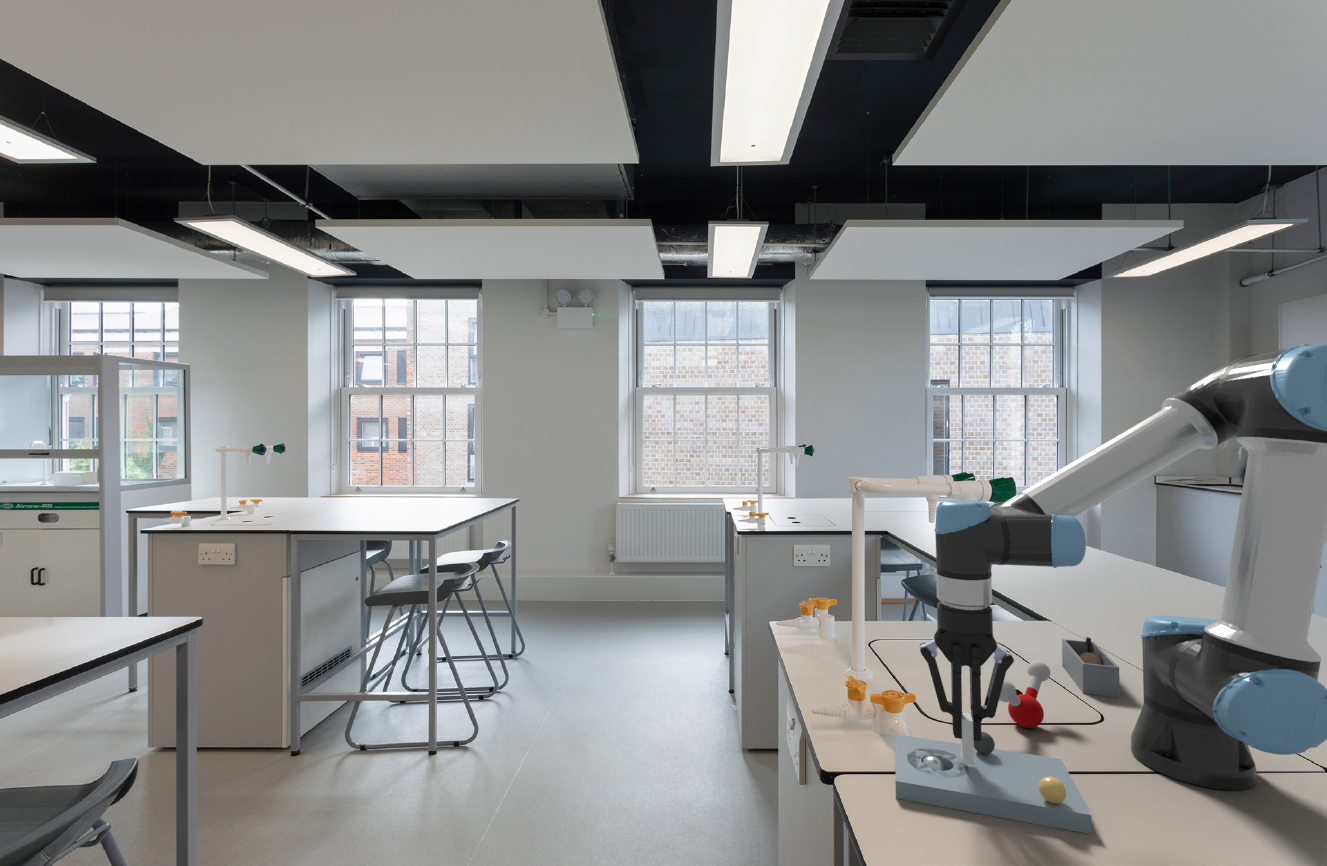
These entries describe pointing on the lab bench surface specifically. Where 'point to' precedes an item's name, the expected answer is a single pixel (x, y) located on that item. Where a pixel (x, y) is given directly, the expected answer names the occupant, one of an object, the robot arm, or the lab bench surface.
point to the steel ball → (933, 763)
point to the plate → (987, 783)
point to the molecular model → (1026, 697)
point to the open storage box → (1090, 669)
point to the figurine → (1090, 655)
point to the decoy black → (984, 744)
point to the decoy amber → (1052, 790)
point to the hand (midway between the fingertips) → (967, 759)
